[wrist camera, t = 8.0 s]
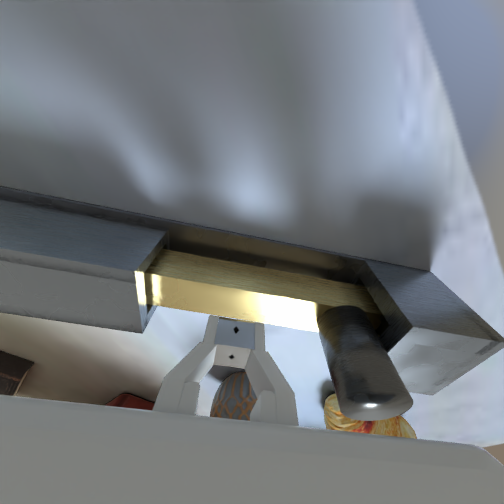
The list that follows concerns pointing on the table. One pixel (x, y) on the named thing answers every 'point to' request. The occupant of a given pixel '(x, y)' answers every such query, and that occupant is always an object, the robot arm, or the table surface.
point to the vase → (234, 398)
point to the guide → (224, 248)
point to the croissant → (365, 422)
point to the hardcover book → (12, 373)
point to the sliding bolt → (293, 320)
